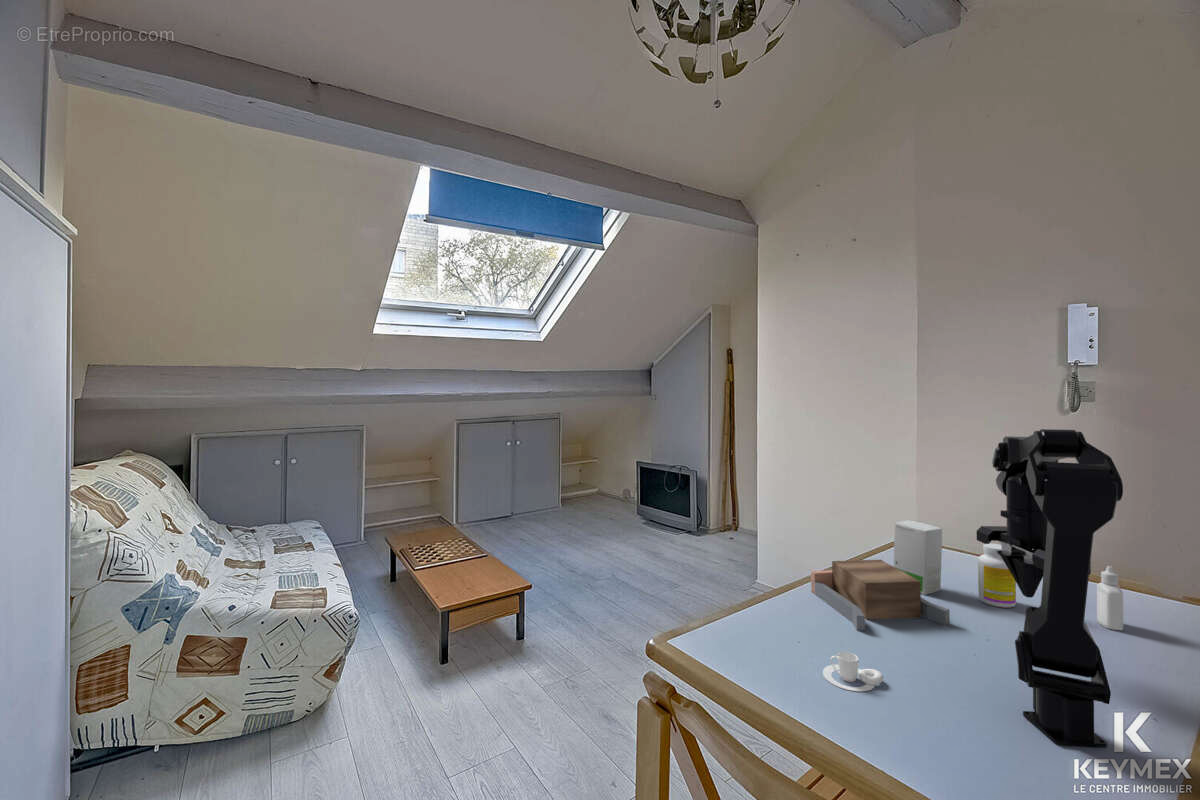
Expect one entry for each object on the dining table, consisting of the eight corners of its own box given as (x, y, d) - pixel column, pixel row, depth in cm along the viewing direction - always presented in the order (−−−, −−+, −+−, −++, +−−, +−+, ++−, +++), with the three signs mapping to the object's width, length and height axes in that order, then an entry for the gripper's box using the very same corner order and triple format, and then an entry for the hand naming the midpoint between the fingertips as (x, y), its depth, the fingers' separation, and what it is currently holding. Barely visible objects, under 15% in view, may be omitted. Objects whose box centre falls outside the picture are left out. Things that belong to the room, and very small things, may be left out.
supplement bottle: (1022, 609, 109) (1022, 551, 109) (988, 607, 110) (988, 550, 110) (1004, 597, 115) (1004, 542, 115) (972, 595, 117) (972, 541, 117)
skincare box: (892, 584, 125) (891, 522, 124) (909, 579, 127) (908, 519, 127) (926, 596, 117) (925, 530, 117) (943, 591, 120) (943, 526, 120)
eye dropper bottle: (1090, 624, 102) (1090, 566, 102) (1099, 617, 105) (1099, 561, 104) (1120, 633, 98) (1120, 572, 98) (1129, 625, 101) (1128, 567, 101)
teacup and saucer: (887, 681, 84) (887, 657, 83) (871, 702, 78) (871, 677, 78) (833, 662, 90) (833, 639, 90) (815, 680, 84) (815, 656, 84)
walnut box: (920, 618, 106) (920, 581, 106) (865, 620, 106) (865, 583, 105) (881, 592, 120) (880, 559, 120) (832, 594, 120) (832, 561, 119)
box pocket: (951, 625, 102) (951, 600, 102) (858, 631, 100) (858, 606, 100) (885, 587, 123) (885, 567, 122) (806, 592, 120) (806, 571, 120)
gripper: (1129, 522, 77) (1129, 622, 77) (1036, 497, 95) (1037, 578, 96) (1050, 521, 78) (1051, 620, 78) (974, 497, 97) (975, 576, 97)
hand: (1028, 596), depth 87 cm, fingers closed
